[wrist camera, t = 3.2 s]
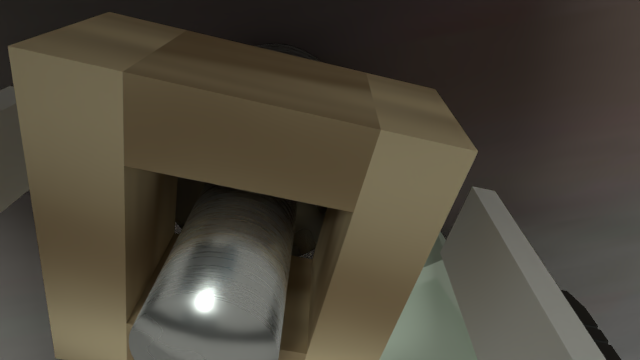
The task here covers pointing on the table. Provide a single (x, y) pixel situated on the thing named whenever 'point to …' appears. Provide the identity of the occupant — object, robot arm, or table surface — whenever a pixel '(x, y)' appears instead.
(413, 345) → the tray
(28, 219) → the table surface
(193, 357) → the grey piece
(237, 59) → the wooden rectangular frame
